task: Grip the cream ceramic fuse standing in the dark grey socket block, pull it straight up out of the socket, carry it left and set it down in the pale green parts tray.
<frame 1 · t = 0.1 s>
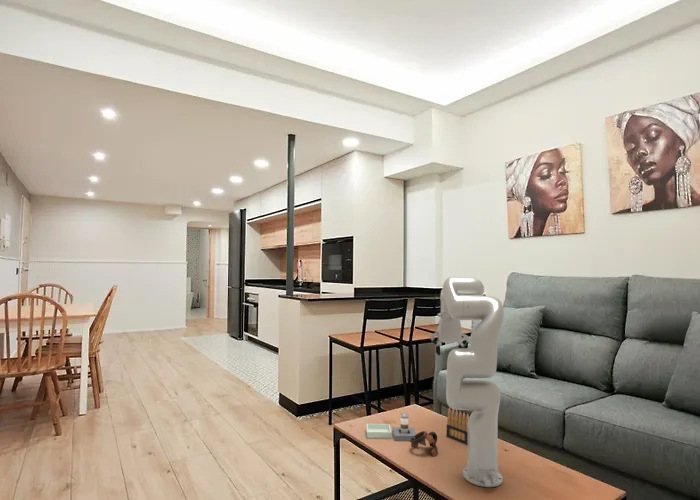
hand: (449, 354, 181), 31 cm above the table, fingers open, 9 cm apart
socket block: (404, 436, 168), on the table
parts tray: (378, 434, 170), on the table
ammunition clip: (458, 440, 164), on the table
blown fuse: (404, 425, 168), in the socket block
pottery mug: (426, 451, 154), on the table
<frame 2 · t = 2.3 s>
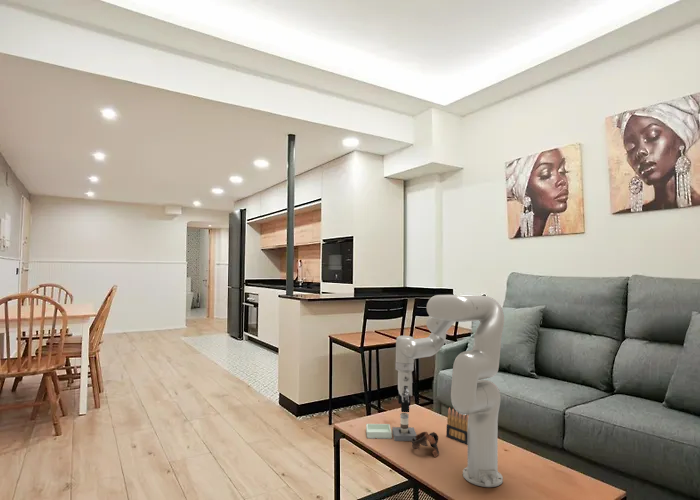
hand: (403, 407, 169), 11 cm above the table, fingers open, 9 cm apart
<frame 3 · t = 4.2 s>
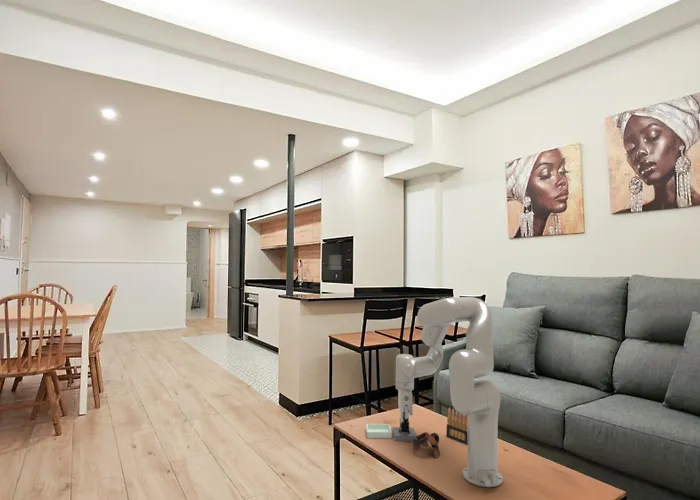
hand: (404, 429, 168), 3 cm above the table, fingers closed on blown fuse, 3 cm apart
blown fuse: (404, 425, 168), in the socket block, touching gripper
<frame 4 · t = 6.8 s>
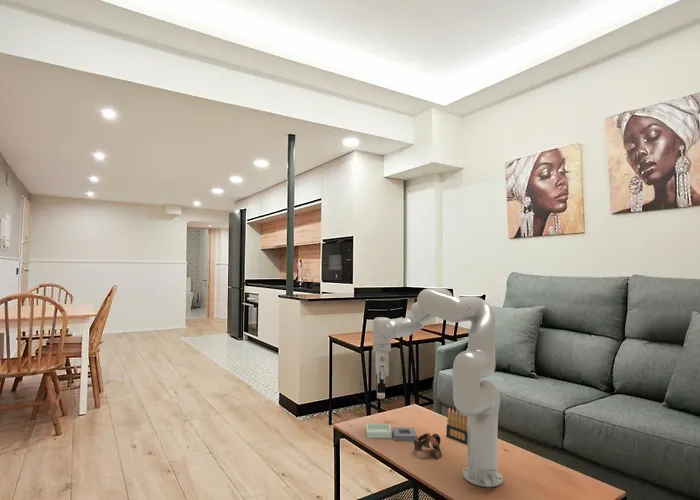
hand: (380, 390, 170), 18 cm above the table, fingers closed on blown fuse, 3 cm apart
blown fuse: (381, 386, 171), point 20 cm above the table, touching gripper
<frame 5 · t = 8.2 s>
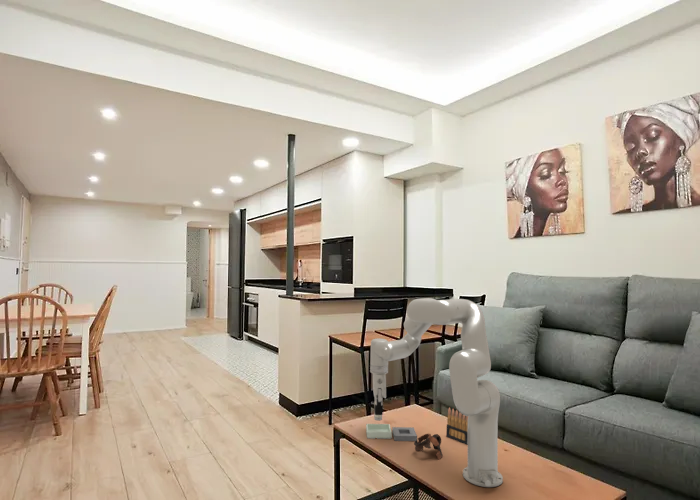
hand: (378, 412, 170), 9 cm above the table, fingers closed on blown fuse, 3 cm apart
blown fuse: (378, 408, 170), point 10 cm above the table, touching gripper
when the fingers open (4 cm above the table, at t = 9.6 s): blown fuse stays where it is, resting on parts tray.
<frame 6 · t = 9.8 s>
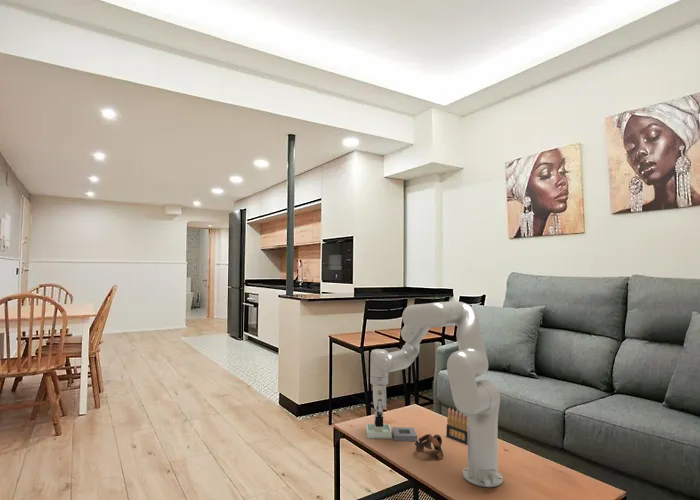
hand: (378, 423, 170), 4 cm above the table, fingers open, 5 cm apart
blown fuse: (378, 421, 170), in the parts tray
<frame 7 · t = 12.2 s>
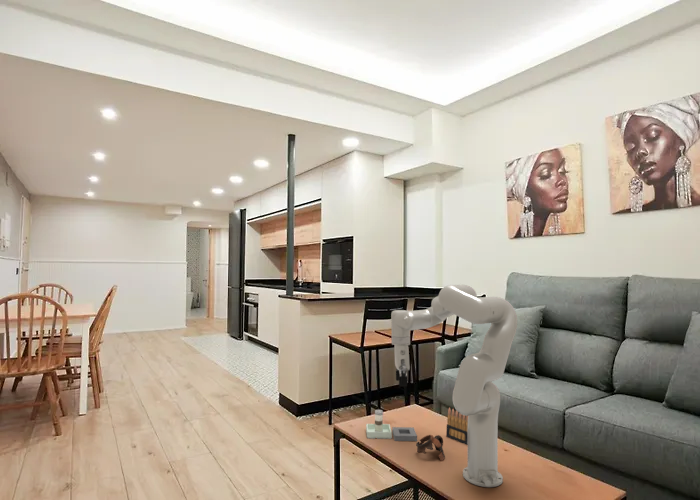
hand: (401, 383, 165), 23 cm above the table, fingers open, 9 cm apart
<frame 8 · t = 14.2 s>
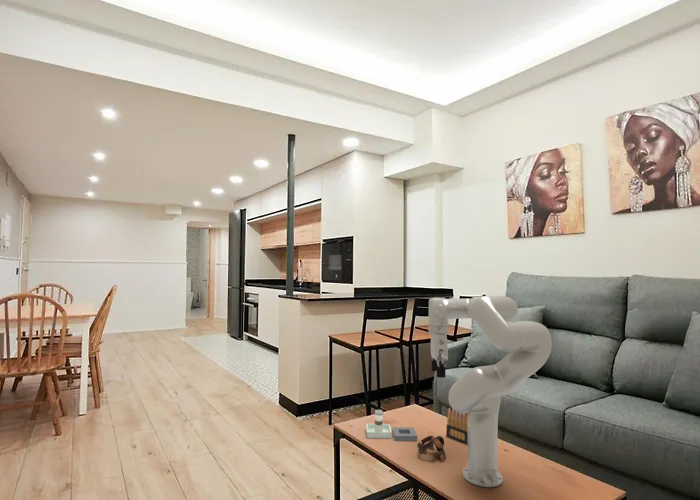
hand: (438, 374, 158), 28 cm above the table, fingers open, 9 cm apart
at the end: blown fuse inside the target area on the parts tray (0.0 cm from its centre), point 5.0 cm above the parts tray's base; the gripper is holding nothing; blown fuse touching parts tray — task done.
